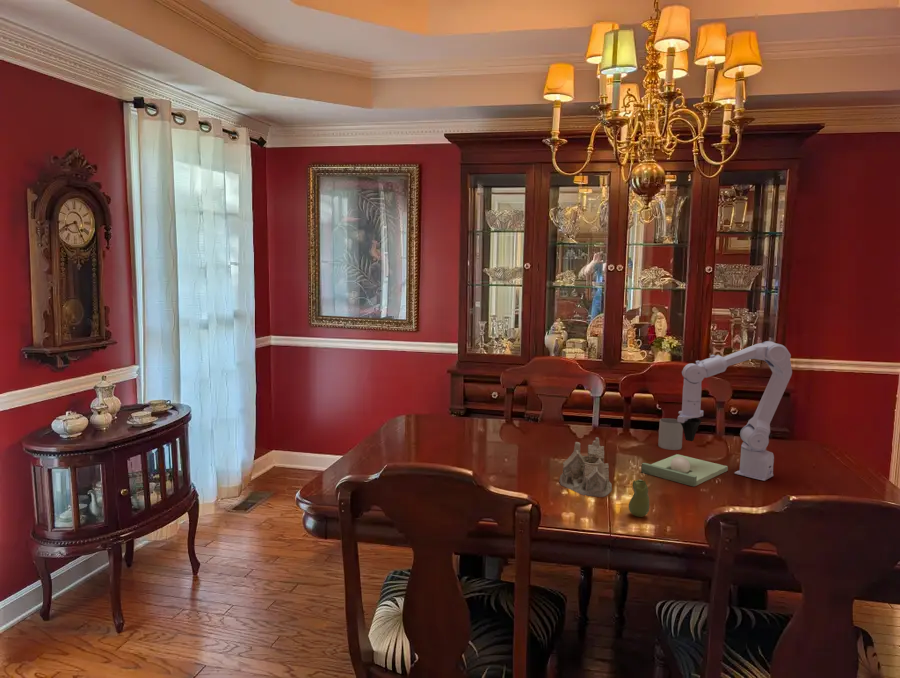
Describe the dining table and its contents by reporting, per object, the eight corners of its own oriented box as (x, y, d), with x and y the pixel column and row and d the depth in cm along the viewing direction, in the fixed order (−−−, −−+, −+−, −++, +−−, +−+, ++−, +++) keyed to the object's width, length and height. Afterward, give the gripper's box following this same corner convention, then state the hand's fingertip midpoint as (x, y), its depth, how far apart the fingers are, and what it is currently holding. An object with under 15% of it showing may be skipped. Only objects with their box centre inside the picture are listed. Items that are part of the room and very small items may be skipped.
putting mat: (727, 470, 209) (728, 461, 209) (693, 486, 193) (694, 477, 192) (676, 458, 222) (677, 450, 222) (641, 472, 206) (641, 463, 206)
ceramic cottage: (562, 474, 202) (565, 430, 199) (614, 483, 196) (618, 438, 193) (552, 493, 187) (555, 446, 185) (608, 503, 182) (612, 455, 179)
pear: (650, 520, 166) (652, 484, 165) (630, 519, 167) (632, 483, 165) (645, 512, 172) (647, 477, 171) (626, 511, 172) (628, 476, 171)
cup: (683, 450, 232) (684, 424, 231) (659, 449, 234) (661, 422, 232) (679, 444, 240) (681, 419, 239) (657, 442, 242) (658, 417, 241)
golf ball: (681, 467, 198) (681, 481, 201) (694, 458, 201) (694, 473, 204) (666, 458, 203) (666, 473, 206) (678, 450, 206) (678, 464, 208)
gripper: (690, 395, 214) (688, 434, 215) (669, 401, 204) (667, 441, 205) (710, 398, 209) (708, 438, 210) (690, 404, 199) (688, 446, 200)
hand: (689, 440), depth 207 cm, fingers closed
